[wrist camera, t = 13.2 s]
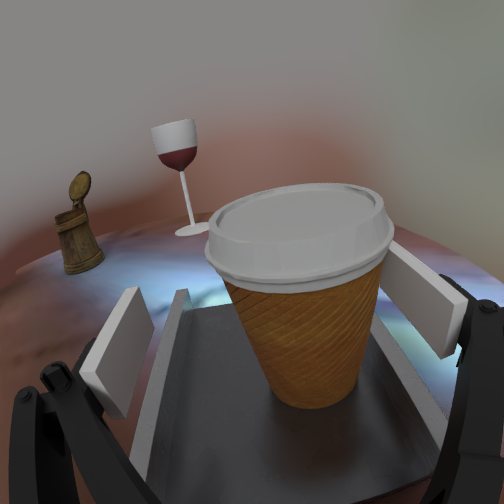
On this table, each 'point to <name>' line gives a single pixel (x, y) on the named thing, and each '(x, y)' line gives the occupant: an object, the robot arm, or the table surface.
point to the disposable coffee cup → (304, 282)
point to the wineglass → (179, 159)
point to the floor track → (276, 422)
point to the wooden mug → (78, 230)
